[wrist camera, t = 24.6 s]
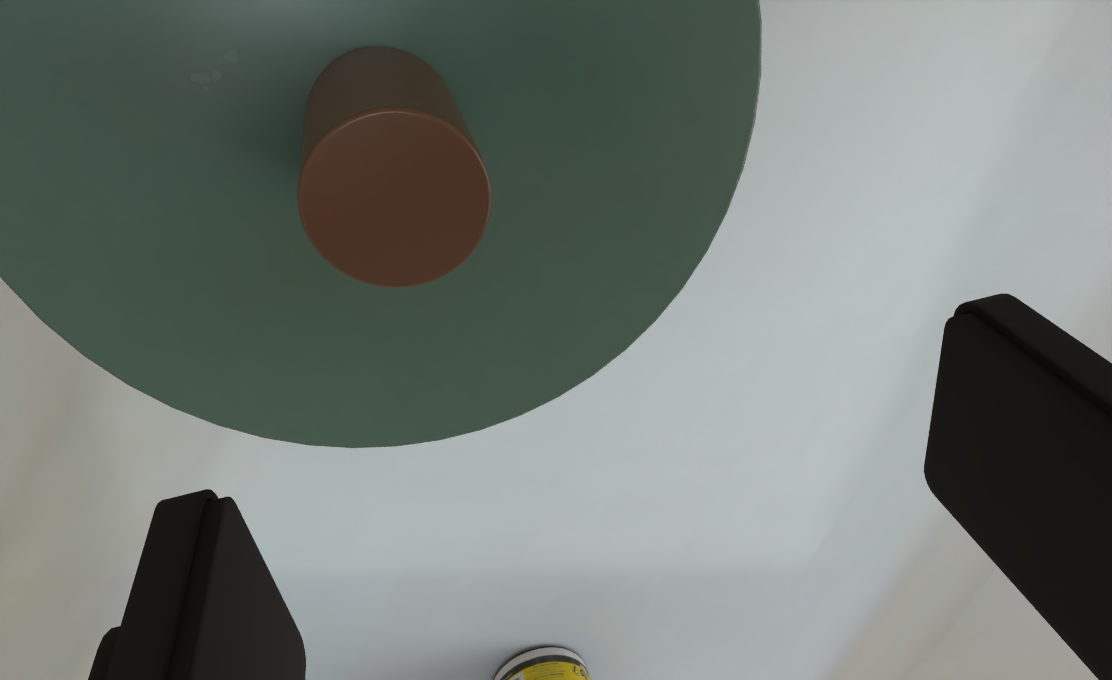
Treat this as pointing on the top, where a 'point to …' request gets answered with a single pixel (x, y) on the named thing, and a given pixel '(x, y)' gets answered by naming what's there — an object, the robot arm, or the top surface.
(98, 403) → the top surface
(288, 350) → the lid
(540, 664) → the supplement bottle
